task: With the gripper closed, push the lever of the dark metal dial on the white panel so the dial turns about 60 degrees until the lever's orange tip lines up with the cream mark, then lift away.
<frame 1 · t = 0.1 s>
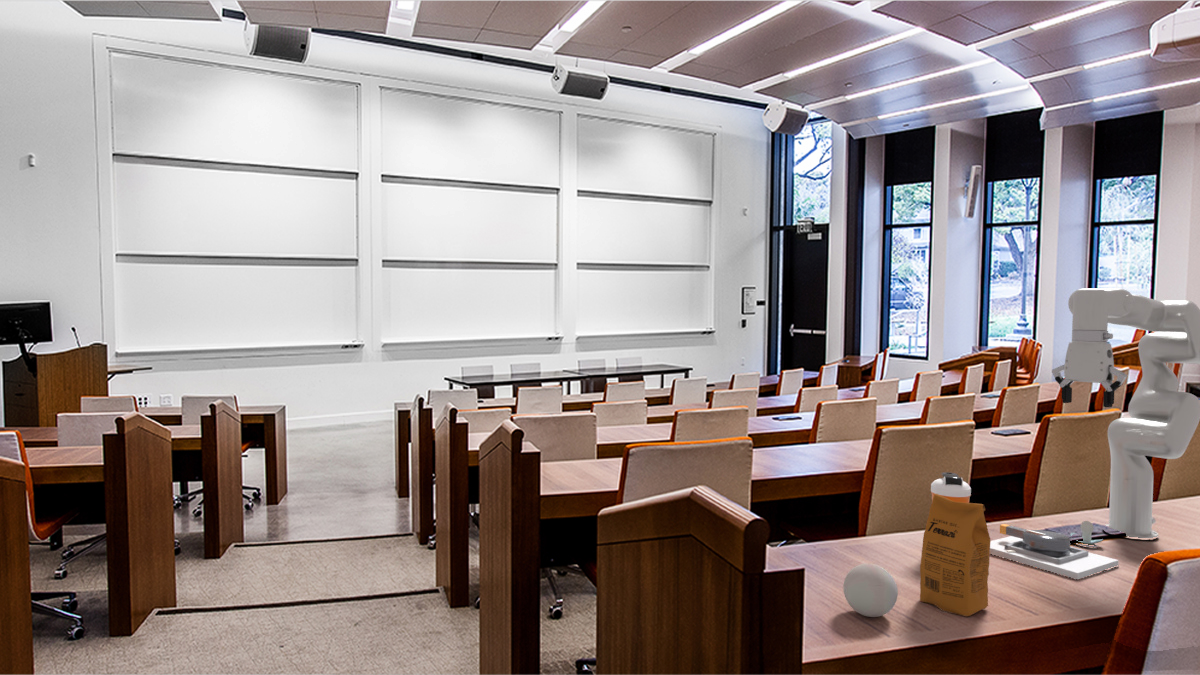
hand: (1087, 404, 193), 37 cm above the table, tool pointing down, fingers open, 9 cm apart
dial: (1033, 540, 188), point 4 cm above the table, hinge at 0.0°
shaker bottle: (948, 556, 187), on the table
pacifier: (1084, 546, 197), on the table
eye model: (869, 616, 150), on the table
coffee package: (952, 606, 156), on the table
panel: (1045, 558, 186), on the table
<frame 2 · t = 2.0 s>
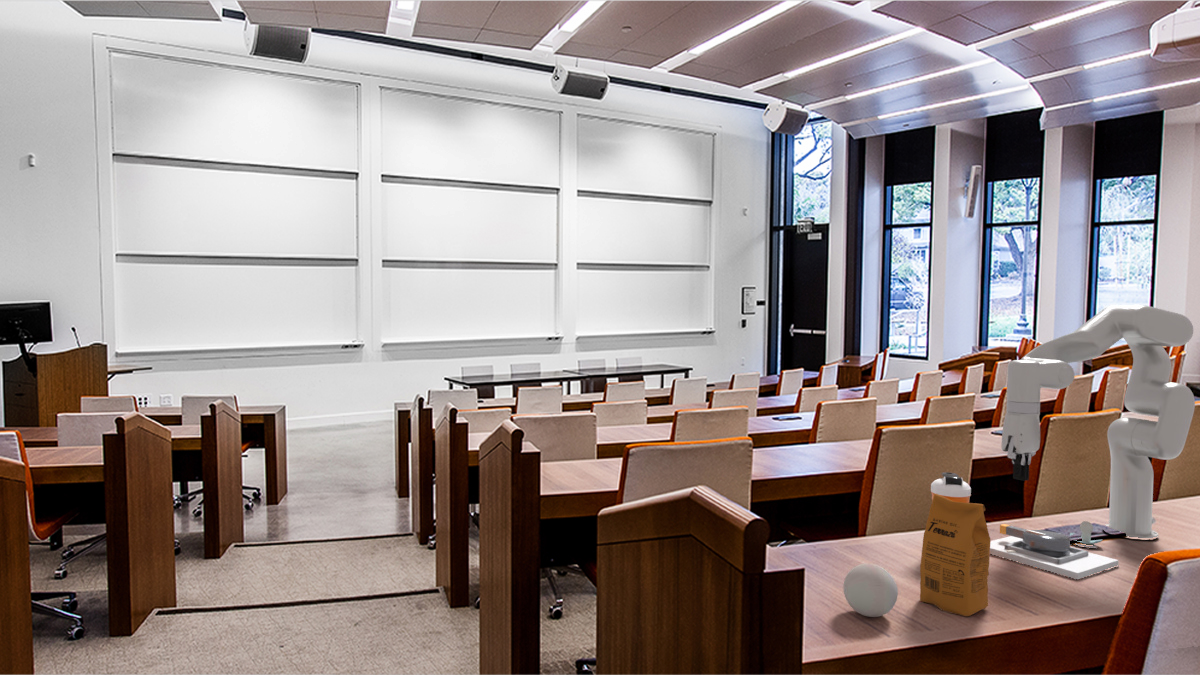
hand: (1020, 479, 196), 17 cm above the table, tool pointing down, fingers closed
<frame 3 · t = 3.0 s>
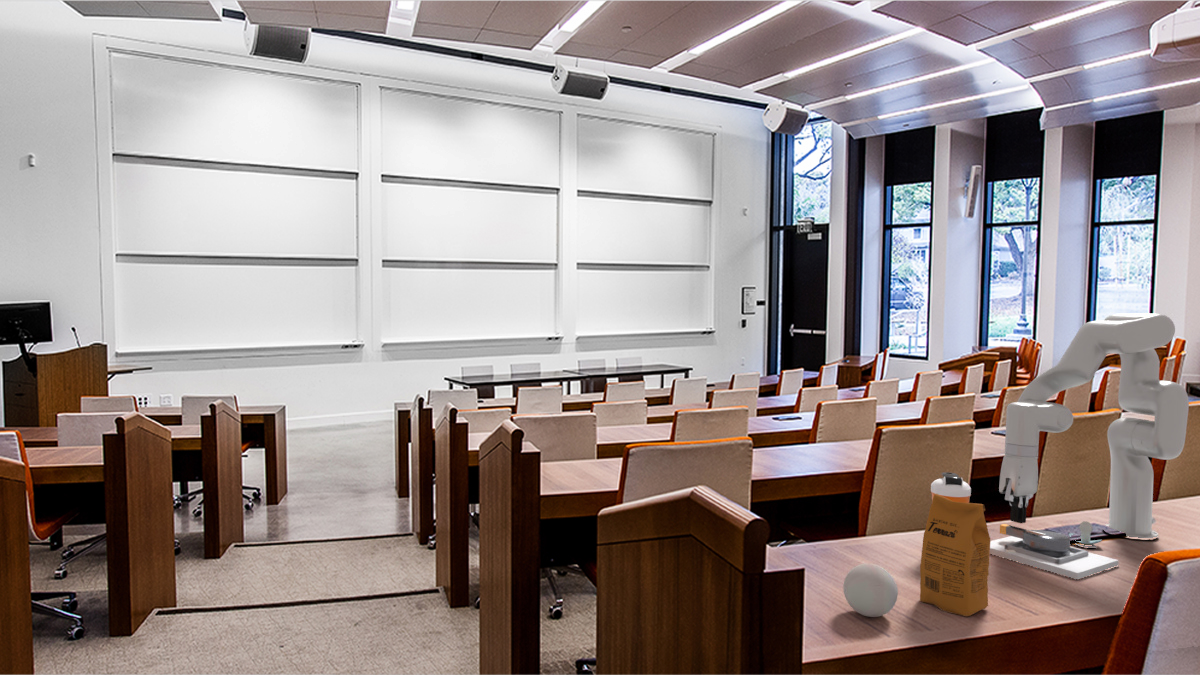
hand: (1017, 521, 196), 6 cm above the table, tool pointing down, fingers closed
nothing on the table moved.
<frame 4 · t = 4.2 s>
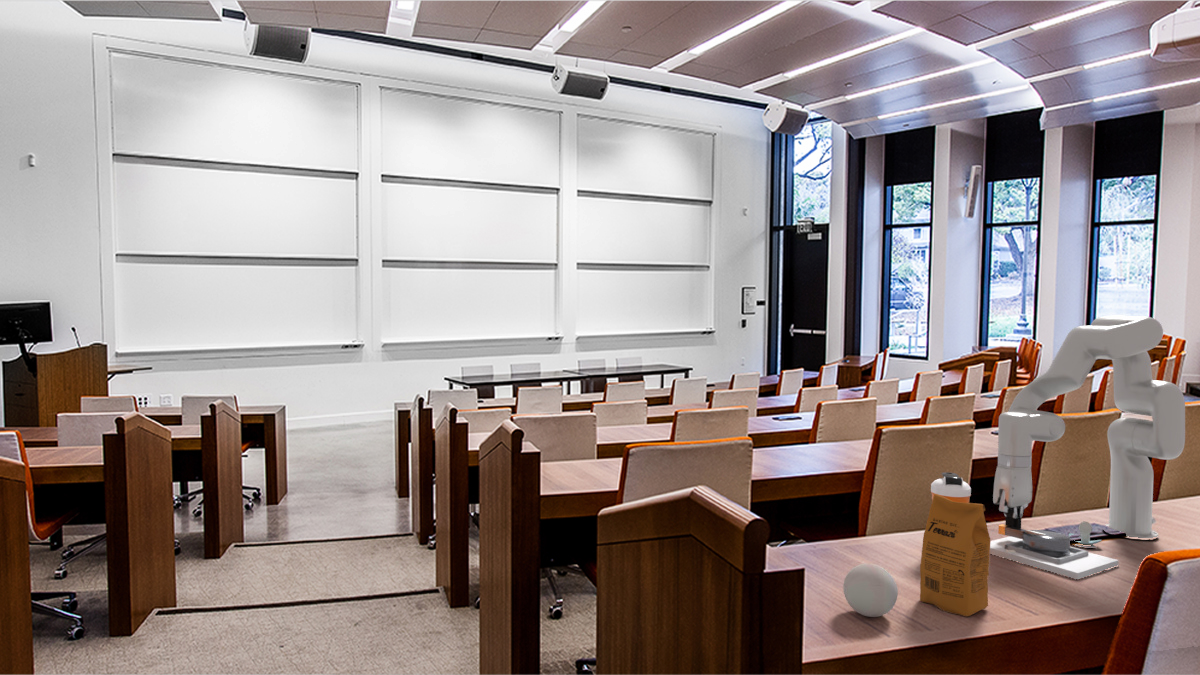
hand: (1013, 532, 195), 4 cm above the table, tool pointing down, fingers closed
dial: (1033, 540, 188), point 4 cm above the table, hinge at 4.0°, touching gripper
everything else where it was.
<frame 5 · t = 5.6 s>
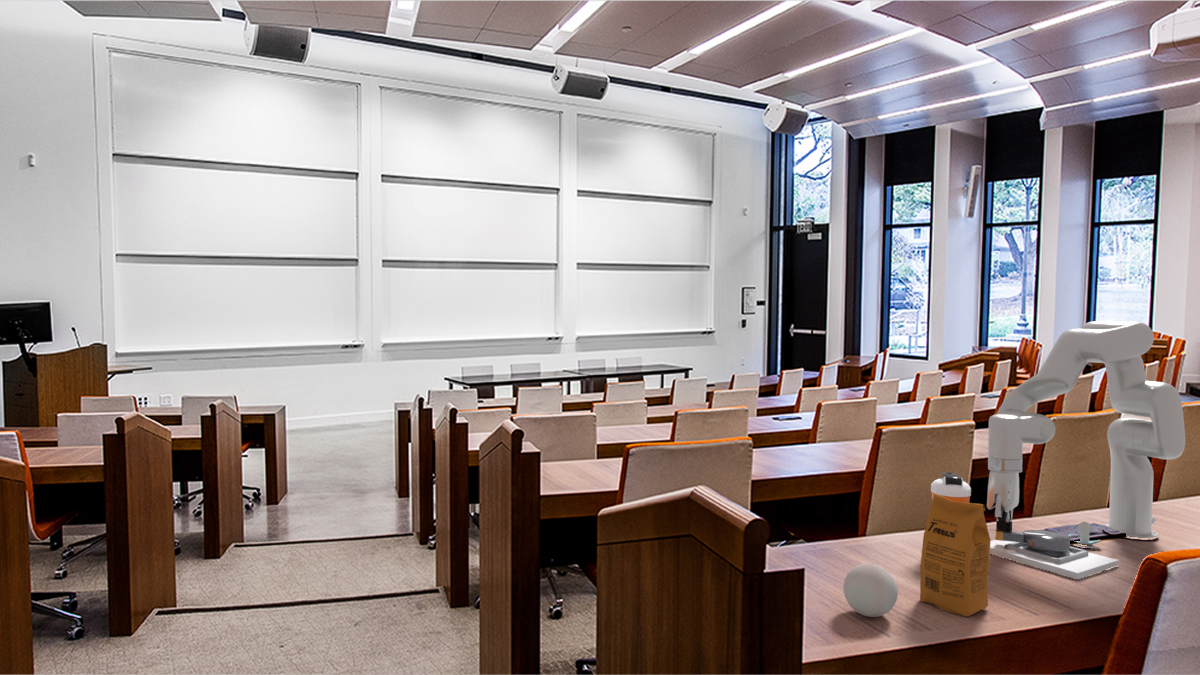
hand: (1004, 536, 192), 4 cm above the table, tool pointing down, fingers closed
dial: (1031, 541, 187), point 4 cm above the table, hinge at 38.4°, touching gripper
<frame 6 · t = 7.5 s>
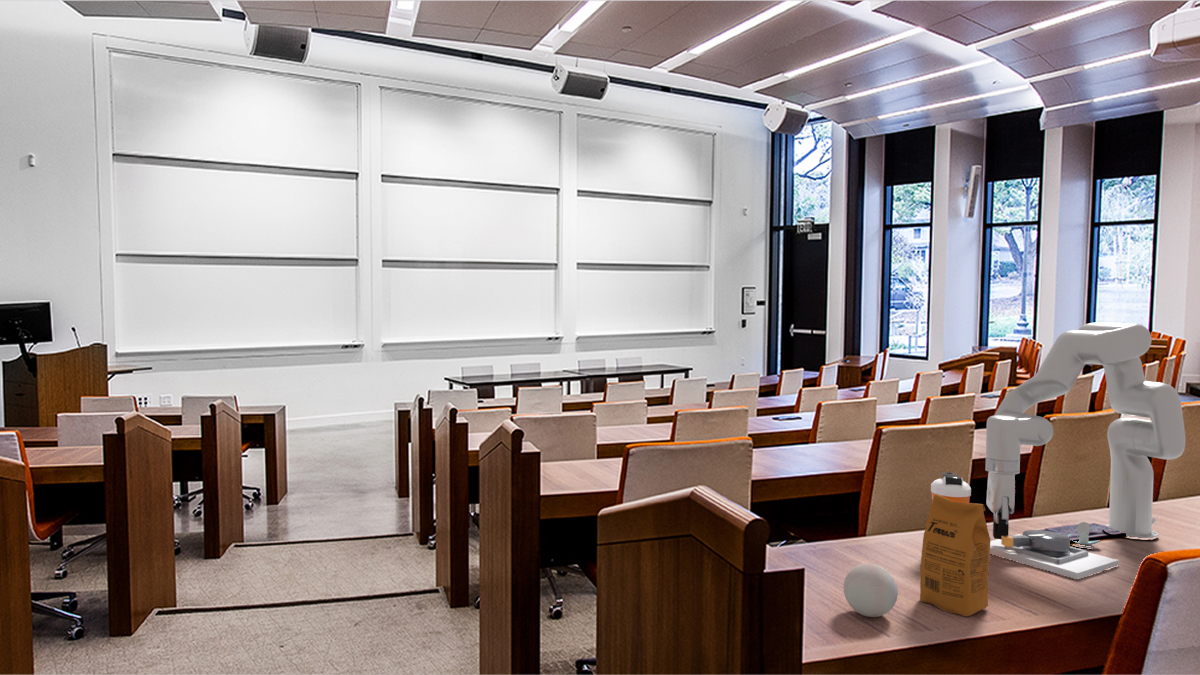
hand: (1000, 538, 191), 3 cm above the table, tool pointing down, fingers closed
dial: (1034, 543, 185), point 4 cm above the table, hinge at 66.5°
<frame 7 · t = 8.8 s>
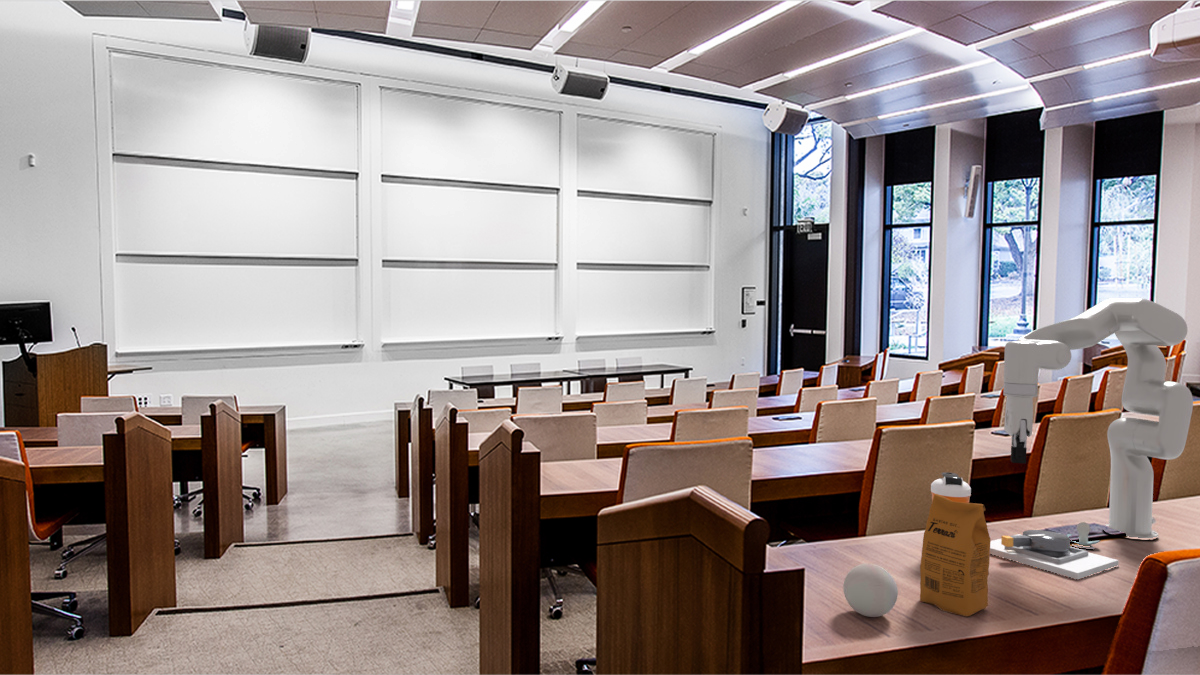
hand: (1018, 462, 192), 22 cm above the table, tool pointing down, fingers closed
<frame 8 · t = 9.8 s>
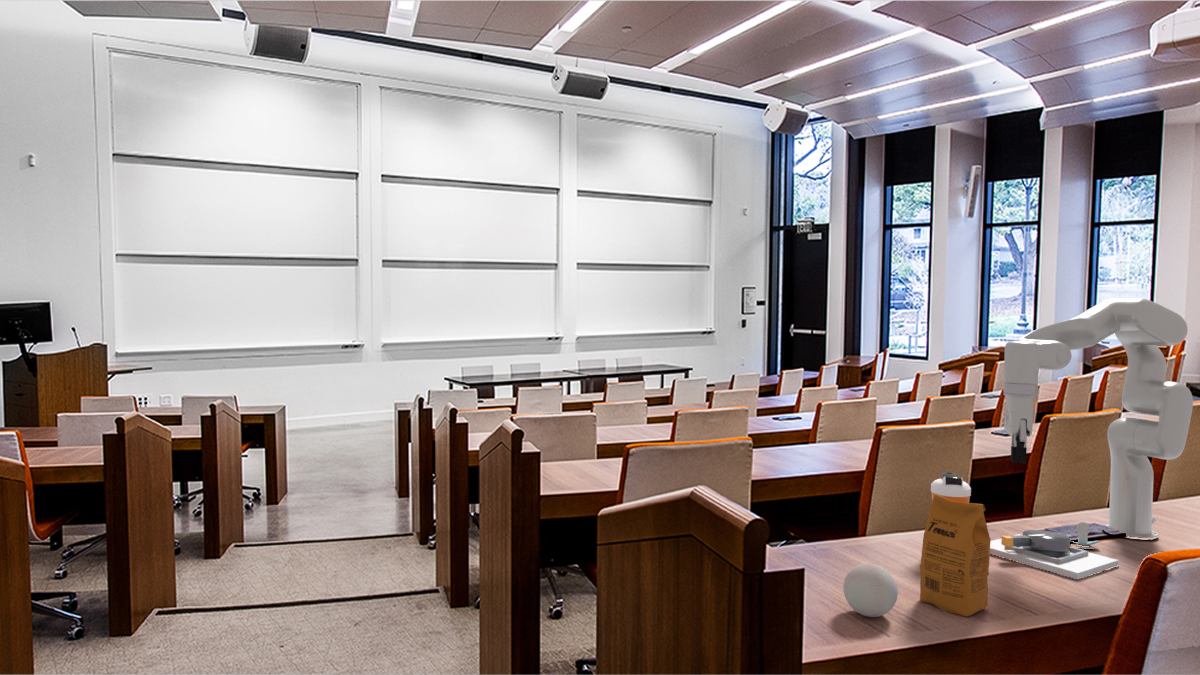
hand: (1018, 462, 192), 22 cm above the table, tool pointing down, fingers closed
at the end: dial at +66° (first picture: +0°) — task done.
